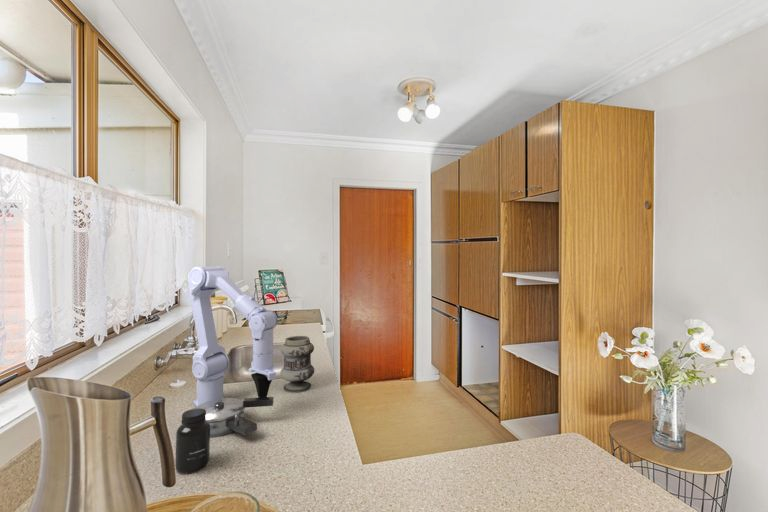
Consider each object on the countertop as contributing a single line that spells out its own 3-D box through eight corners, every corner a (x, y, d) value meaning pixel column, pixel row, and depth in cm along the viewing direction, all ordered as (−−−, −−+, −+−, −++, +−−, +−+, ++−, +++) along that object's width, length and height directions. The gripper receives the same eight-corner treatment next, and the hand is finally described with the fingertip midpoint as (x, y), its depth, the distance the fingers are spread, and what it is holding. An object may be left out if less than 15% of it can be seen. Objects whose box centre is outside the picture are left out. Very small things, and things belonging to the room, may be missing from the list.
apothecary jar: (295, 379, 135) (296, 332, 135) (321, 385, 129) (321, 336, 129) (272, 390, 124) (273, 339, 124) (299, 396, 118) (299, 343, 118)
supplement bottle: (194, 476, 75) (195, 421, 75) (167, 472, 76) (168, 417, 76) (216, 458, 82) (216, 407, 82) (191, 455, 83) (191, 404, 83)
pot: (183, 428, 96) (183, 404, 96) (227, 411, 107) (227, 389, 107) (227, 452, 84) (227, 425, 84) (271, 430, 95) (271, 406, 95)
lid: (183, 423, 90) (183, 414, 90) (200, 402, 103) (200, 393, 103) (269, 417, 94) (270, 408, 94) (275, 397, 107) (275, 389, 107)
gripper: (241, 349, 107) (240, 393, 107) (258, 360, 96) (258, 409, 96) (264, 345, 112) (263, 387, 112) (282, 355, 101) (282, 402, 101)
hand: (262, 397), depth 104 cm, fingers closed
